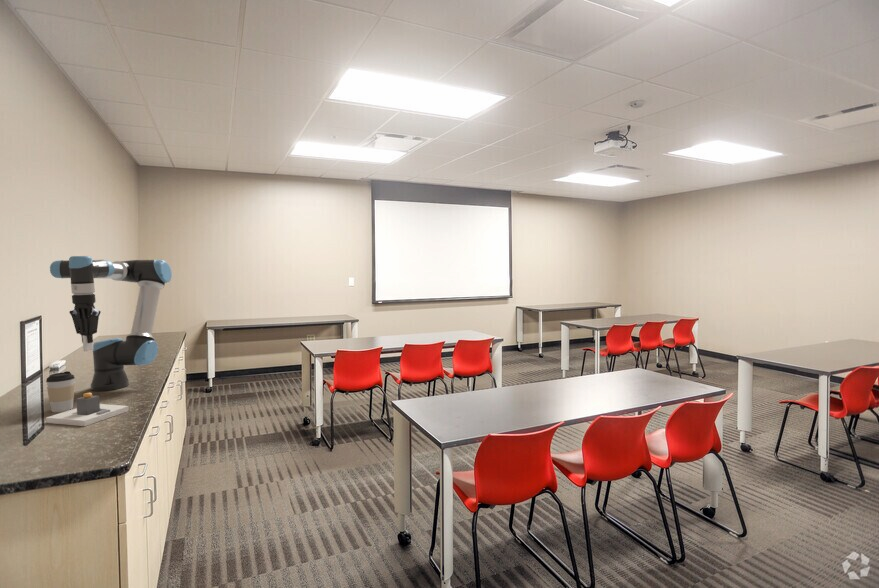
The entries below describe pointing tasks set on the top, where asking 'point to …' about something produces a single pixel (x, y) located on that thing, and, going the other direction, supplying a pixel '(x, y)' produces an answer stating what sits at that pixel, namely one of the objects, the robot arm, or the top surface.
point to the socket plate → (84, 420)
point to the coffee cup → (61, 391)
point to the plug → (88, 404)
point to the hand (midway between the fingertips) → (88, 350)
